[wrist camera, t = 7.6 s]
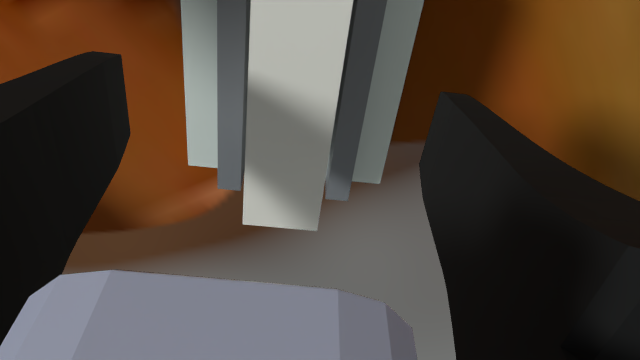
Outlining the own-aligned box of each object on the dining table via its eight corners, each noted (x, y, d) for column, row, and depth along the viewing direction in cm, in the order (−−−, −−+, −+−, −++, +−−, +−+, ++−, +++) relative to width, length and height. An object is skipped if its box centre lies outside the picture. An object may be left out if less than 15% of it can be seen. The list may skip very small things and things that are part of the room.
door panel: (263, 114, 22) (242, 223, 16) (279, -164, 16) (255, -141, 10) (318, 120, 22) (316, 230, 16) (355, -153, 16) (373, -125, 10)
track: (190, 157, 24) (181, 185, 22) (171, -305, 14) (151, -318, 13) (378, 176, 25) (382, 204, 23) (480, -255, 15) (500, -261, 13)
